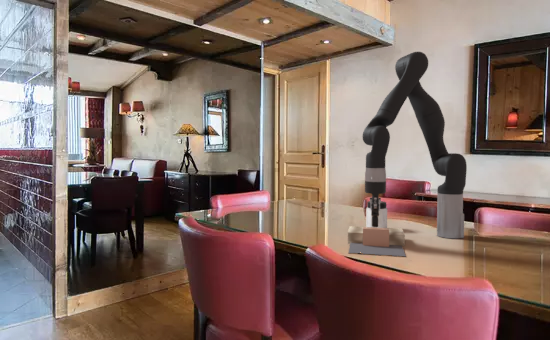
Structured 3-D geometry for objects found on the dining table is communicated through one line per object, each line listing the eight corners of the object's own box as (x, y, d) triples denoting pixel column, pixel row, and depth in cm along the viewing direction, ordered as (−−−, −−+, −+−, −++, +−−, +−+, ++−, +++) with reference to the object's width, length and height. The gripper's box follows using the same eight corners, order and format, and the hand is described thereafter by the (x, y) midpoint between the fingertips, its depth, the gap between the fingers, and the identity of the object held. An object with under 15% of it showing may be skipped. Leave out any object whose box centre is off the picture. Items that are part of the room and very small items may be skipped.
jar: (379, 231, 153) (379, 203, 153) (363, 228, 159) (363, 202, 159) (390, 228, 160) (390, 201, 159) (373, 226, 166) (374, 200, 165)
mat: (401, 246, 128) (401, 245, 128) (405, 257, 114) (405, 256, 114) (350, 243, 133) (350, 242, 133) (348, 253, 119) (348, 252, 119)
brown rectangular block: (388, 228, 129) (389, 229, 126) (388, 244, 129) (389, 246, 126) (363, 227, 131) (362, 228, 128) (363, 243, 132) (362, 245, 129)
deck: (401, 238, 140) (401, 228, 140) (404, 246, 128) (404, 235, 128) (349, 236, 145) (349, 226, 145) (347, 243, 133) (347, 232, 133)
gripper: (386, 181, 125) (386, 230, 126) (385, 179, 138) (384, 223, 139) (364, 181, 127) (364, 229, 128) (365, 179, 140) (364, 222, 141)
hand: (375, 226), depth 133 cm, fingers closed
